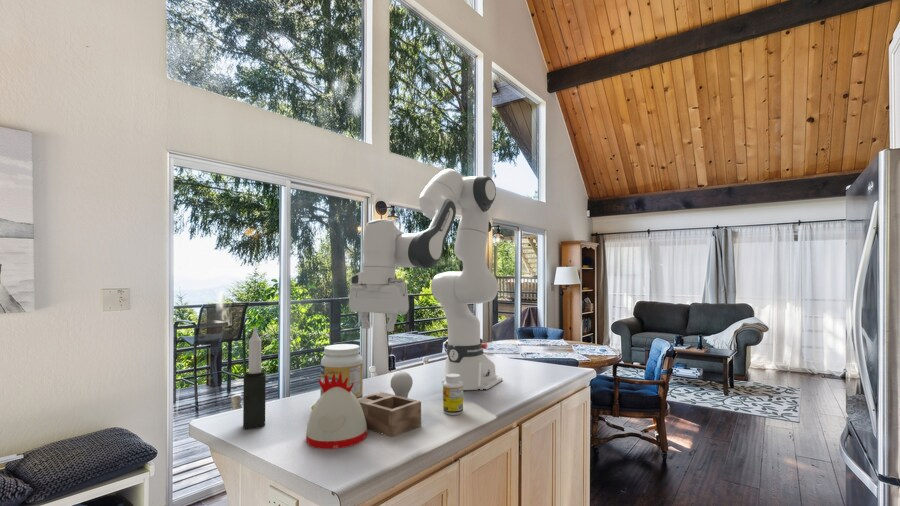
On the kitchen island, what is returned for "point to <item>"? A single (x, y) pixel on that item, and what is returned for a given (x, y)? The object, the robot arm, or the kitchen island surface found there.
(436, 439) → the kitchen island surface
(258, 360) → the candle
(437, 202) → the robot arm
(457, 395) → the supplement bottle
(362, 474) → the kitchen island surface
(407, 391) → the lightbulb
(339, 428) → the kitchen timer
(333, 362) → the supplement tub
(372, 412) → the socket block
